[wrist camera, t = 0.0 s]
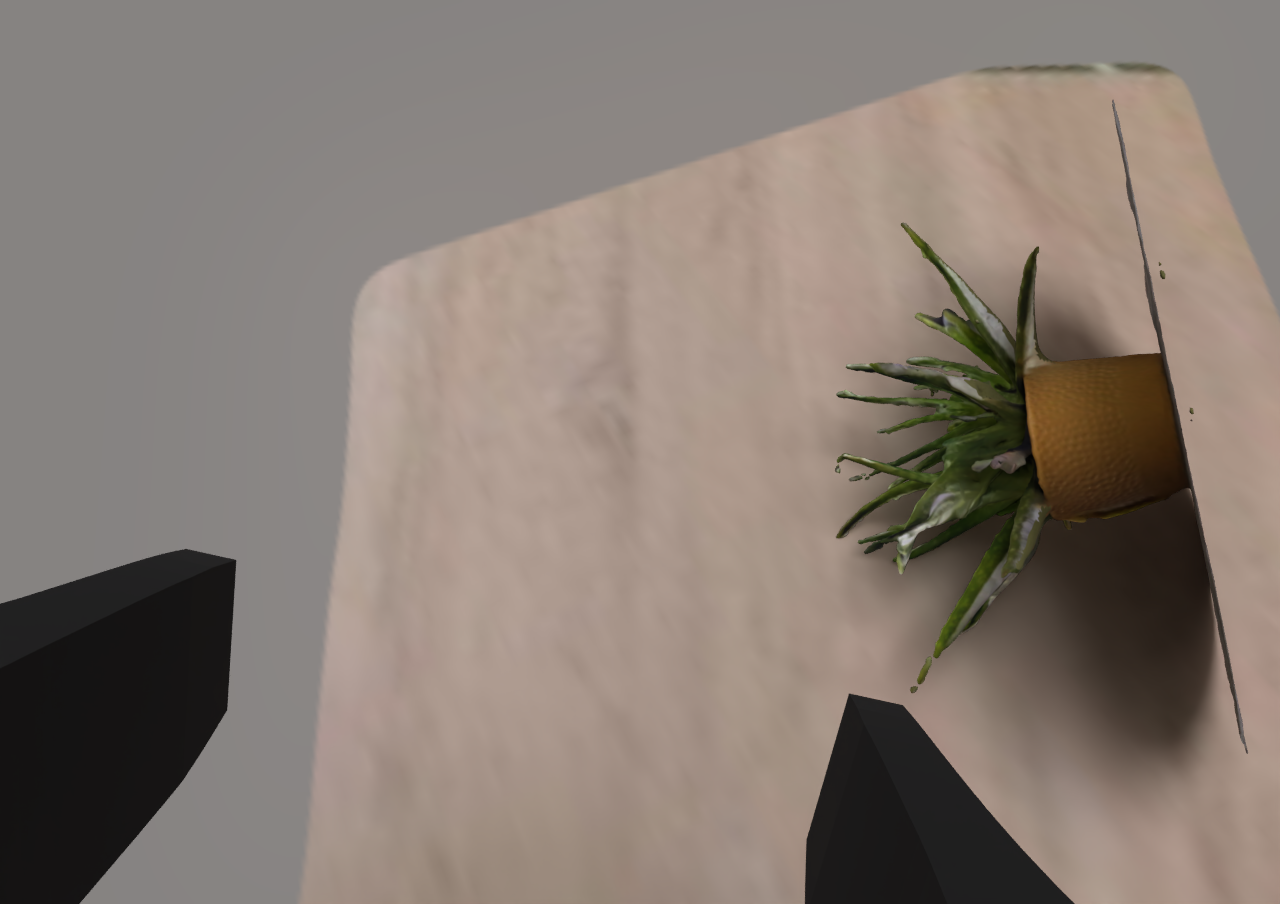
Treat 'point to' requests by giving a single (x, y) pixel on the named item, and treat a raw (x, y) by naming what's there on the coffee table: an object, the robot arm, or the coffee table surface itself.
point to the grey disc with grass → (1029, 442)
